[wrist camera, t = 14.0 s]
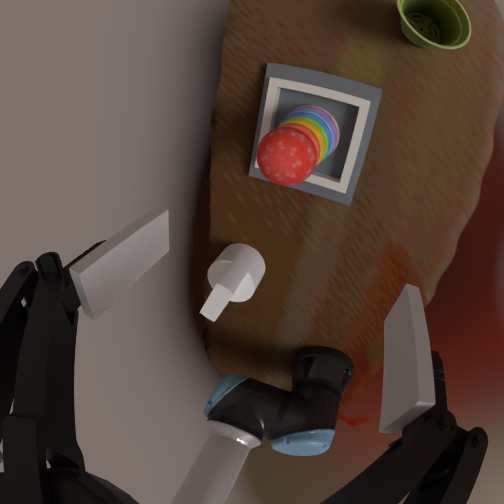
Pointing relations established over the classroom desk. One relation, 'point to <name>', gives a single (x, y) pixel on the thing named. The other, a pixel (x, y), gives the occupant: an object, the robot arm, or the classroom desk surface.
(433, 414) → the robot arm
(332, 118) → the stacking toy
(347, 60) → the classroom desk surface
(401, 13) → the plant pot
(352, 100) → the board
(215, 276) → the cylinder with rectangular tab
